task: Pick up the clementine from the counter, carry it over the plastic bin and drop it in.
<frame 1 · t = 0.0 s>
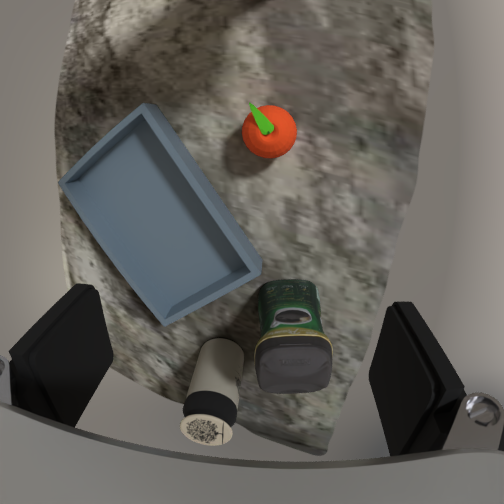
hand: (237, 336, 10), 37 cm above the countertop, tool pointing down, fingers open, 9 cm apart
bin: (161, 215, 48), on the countertop
travel mug: (222, 353, 57), on the countertop
coffee jar: (289, 298, 52), on the countertop
clementine: (267, 128, 42), on the countertop
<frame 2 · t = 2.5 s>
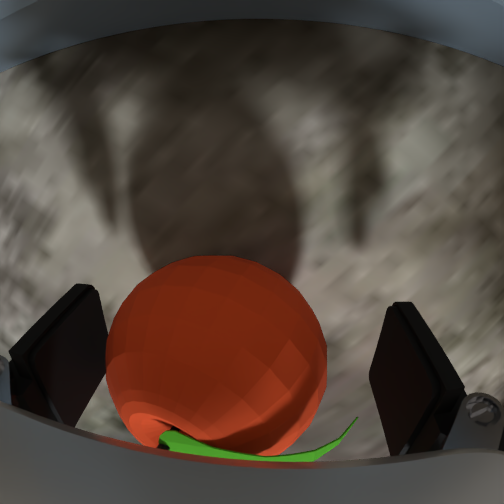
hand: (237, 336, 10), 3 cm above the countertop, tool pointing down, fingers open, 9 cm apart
clementine: (264, 306, 13), on the countertop
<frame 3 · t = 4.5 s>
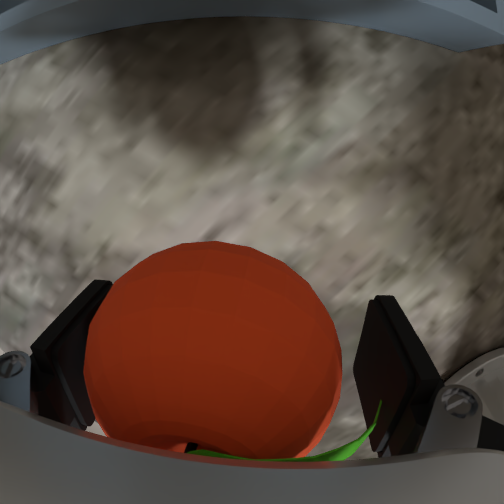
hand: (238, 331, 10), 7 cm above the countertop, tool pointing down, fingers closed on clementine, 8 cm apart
clementine: (243, 304, 12), point 6 cm above the countertop, touching gripper
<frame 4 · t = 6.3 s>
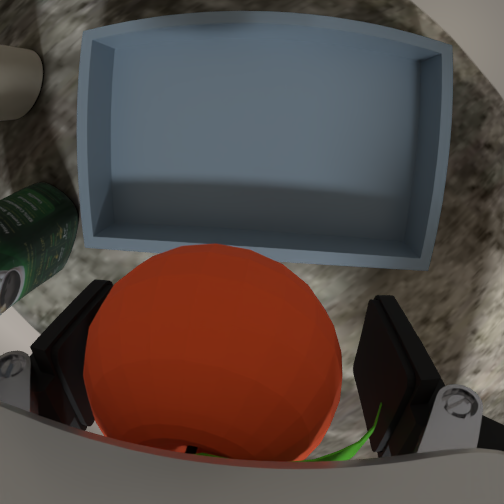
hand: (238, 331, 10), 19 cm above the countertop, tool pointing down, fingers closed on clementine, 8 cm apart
bin: (261, 133, 25), on the countertop
travel mug: (20, 84, 24), on the countertop
coffee jar: (50, 225, 30), on the countertop
clementine: (243, 306, 12), point 17 cm above the countertop, touching gripper
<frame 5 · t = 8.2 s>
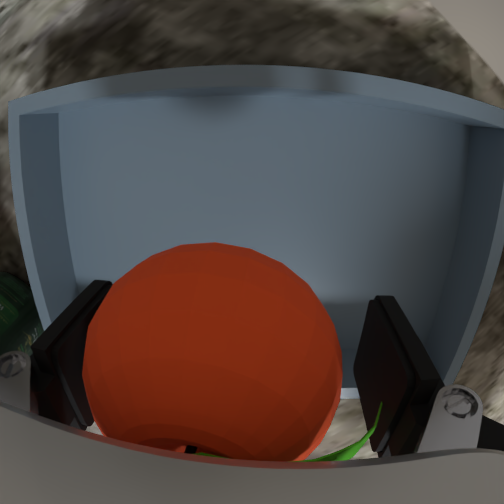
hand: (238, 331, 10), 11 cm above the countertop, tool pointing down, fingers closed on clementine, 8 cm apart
bin: (257, 230, 20), on the countertop
coffee jar: (22, 314, 25), on the countertop
clementine: (243, 305, 12), point 9 cm above the countertop, touching gripper
when the fingers open (5 cm above the countertop, at t = 9.9 s): clementine drops 2 cm, resting on bin.
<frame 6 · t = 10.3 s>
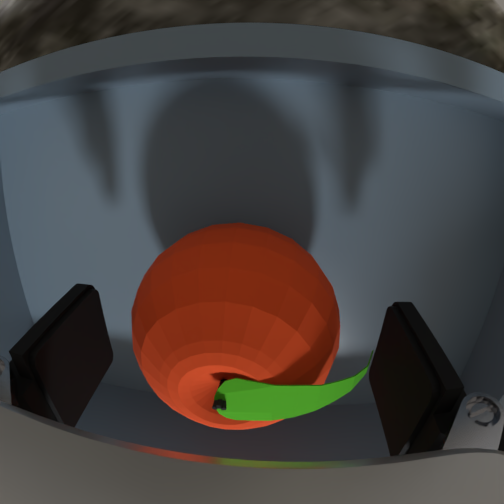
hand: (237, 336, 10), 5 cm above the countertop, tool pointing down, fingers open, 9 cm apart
bin: (249, 266, 15), on the countertop
clementine: (256, 279, 14), point 1 cm above the countertop, touching bin
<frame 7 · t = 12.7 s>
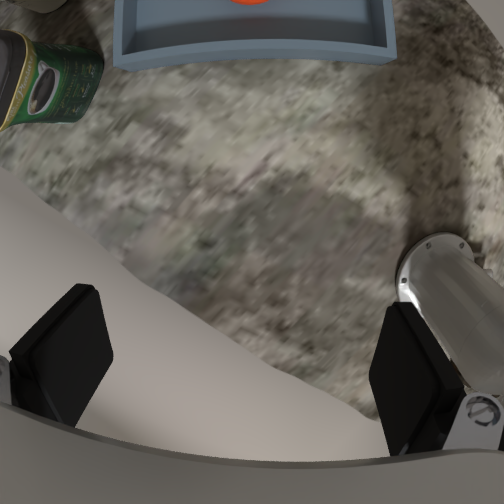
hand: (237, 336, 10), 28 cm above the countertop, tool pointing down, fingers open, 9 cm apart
hand tool: (472, 374, 47), on the countertop
coffee jar: (75, 85, 31), on the countertop
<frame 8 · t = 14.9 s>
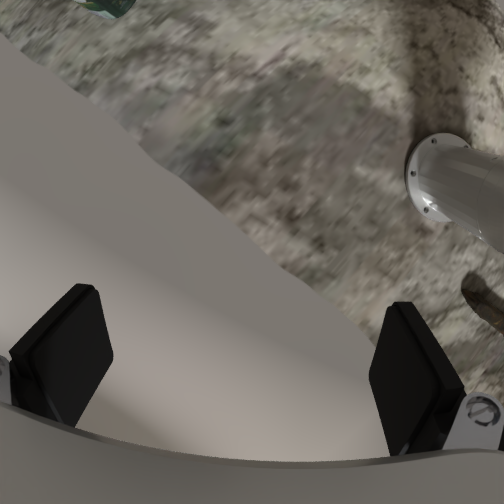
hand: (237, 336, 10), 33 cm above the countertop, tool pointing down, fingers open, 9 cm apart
hand tool: (485, 311, 47), on the countertop
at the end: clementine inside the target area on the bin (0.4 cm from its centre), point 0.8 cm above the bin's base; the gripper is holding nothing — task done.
